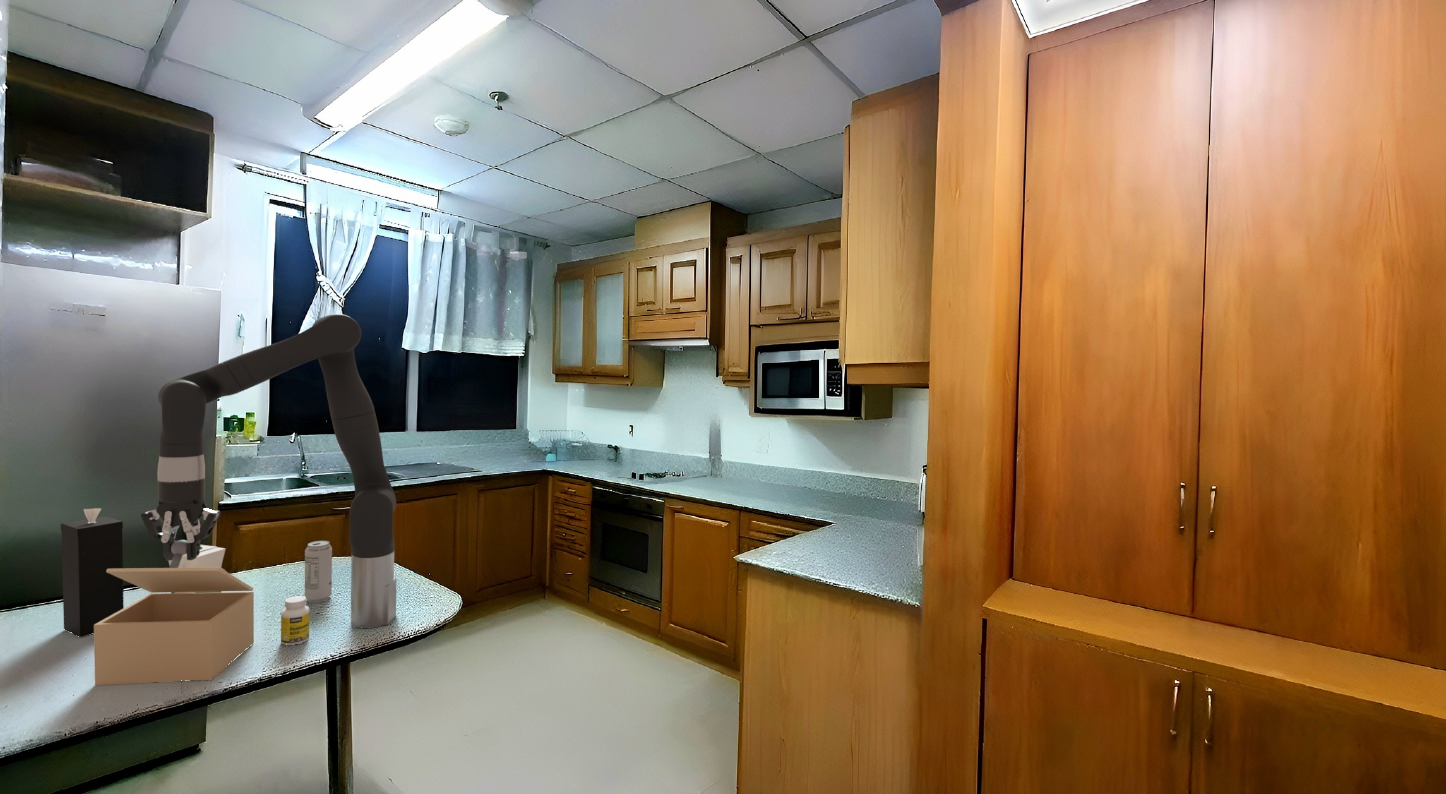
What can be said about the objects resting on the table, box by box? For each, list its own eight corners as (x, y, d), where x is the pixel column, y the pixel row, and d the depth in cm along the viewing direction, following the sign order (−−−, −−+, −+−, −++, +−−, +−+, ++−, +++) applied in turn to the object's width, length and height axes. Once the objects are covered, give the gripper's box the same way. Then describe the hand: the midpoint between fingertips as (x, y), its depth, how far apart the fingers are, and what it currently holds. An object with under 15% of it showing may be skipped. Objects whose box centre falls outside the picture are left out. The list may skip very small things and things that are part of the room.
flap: (252, 590, 144) (262, 558, 148) (218, 570, 131) (230, 535, 135) (151, 592, 141) (164, 559, 144) (105, 571, 127) (121, 535, 131)
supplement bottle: (288, 648, 144) (288, 605, 143) (276, 641, 147) (276, 599, 146) (314, 640, 148) (314, 598, 148) (302, 633, 151) (302, 592, 151)
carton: (253, 643, 145) (253, 591, 144) (211, 680, 129) (211, 621, 129) (151, 647, 141) (150, 593, 141) (95, 684, 126) (93, 624, 125)
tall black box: (124, 625, 151) (122, 507, 149) (79, 638, 144) (77, 514, 142) (107, 618, 154) (105, 502, 152) (62, 630, 147) (60, 508, 145)
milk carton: (200, 615, 158) (199, 535, 157) (231, 620, 156) (230, 539, 155) (162, 630, 149) (161, 545, 148) (194, 635, 148) (194, 549, 146)
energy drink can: (336, 598, 172) (336, 543, 171) (311, 605, 167) (312, 548, 166) (324, 592, 175) (324, 538, 174) (300, 599, 170) (300, 543, 169)
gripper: (230, 474, 139) (229, 553, 140) (154, 473, 136) (154, 554, 137) (209, 480, 131) (209, 564, 132) (129, 479, 129) (129, 565, 130)
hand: (181, 558), depth 135 cm, fingers closed on flap, 3 cm apart
